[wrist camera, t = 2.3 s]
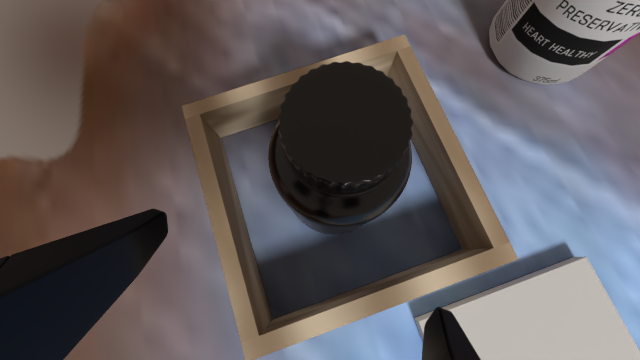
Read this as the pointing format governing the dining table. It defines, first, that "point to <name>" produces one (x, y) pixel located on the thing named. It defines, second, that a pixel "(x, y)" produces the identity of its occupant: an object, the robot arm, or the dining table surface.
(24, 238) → the dining table surface
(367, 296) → the crate
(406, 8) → the dining table surface
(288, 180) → the supplement bottle
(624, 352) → the mat
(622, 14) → the supplement can
